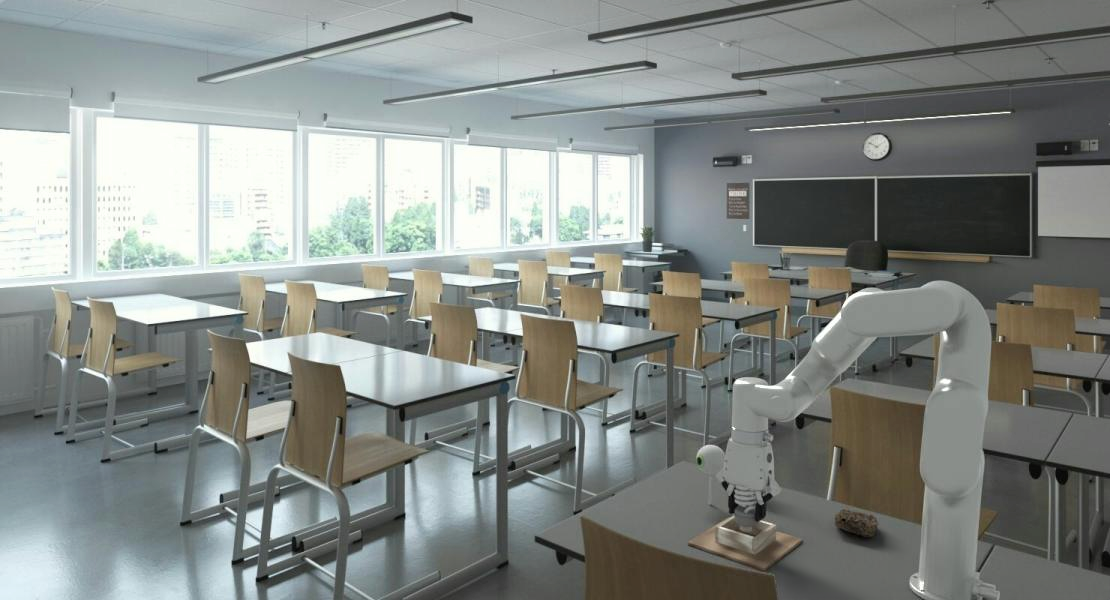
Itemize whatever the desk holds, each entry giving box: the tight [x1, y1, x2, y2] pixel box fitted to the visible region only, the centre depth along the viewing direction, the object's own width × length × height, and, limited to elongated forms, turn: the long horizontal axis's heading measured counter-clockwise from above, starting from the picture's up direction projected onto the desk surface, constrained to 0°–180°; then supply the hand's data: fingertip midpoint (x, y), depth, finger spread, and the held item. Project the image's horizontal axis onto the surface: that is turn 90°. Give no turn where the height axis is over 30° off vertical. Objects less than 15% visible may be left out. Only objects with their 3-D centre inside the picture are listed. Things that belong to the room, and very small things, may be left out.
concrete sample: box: [834, 508, 879, 538], centre depth 178 cm, size 12×10×5 cm
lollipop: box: [695, 444, 726, 505], centre depth 192 cm, size 7×7×15 cm
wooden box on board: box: [687, 514, 803, 572], centre depth 171 cm, size 18×18×4 cm
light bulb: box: [733, 485, 758, 533], centre depth 170 cm, size 6×6×12 cm
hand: (746, 515), depth 171 cm, fingers closed on light bulb, 5 cm apart
